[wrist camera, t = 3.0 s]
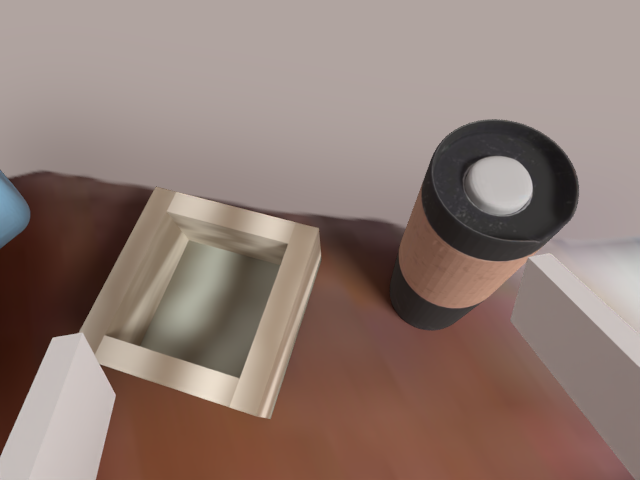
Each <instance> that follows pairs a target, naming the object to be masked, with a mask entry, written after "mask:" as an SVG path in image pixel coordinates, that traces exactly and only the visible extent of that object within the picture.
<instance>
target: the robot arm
mask: <svg viewBox="0 0 640 480" xmlns="http://www.w3.org/2000/svg"><path fill="white" fill-rule="evenodd" d="M29 220H30V209H29V206H28V204H27V202H26V201H25V199H24V198H23V197H22V195H21V194H20V193H19V191H18V190H17V189H16V188H15V187H14V185H13V184H12V183H11V182H10V180H9V179H8V178H7V177H6V176H5V175H4V173H3V172H2V171H1V170H0V249H1V248H2V247H3V246H4V245H6V244H7V243H8V242H9V241H11V240H12V239H13V238H14V237H16V236H17V235H18V234H19V233H21V232H22V231H23V230H24V229H25V228H26V227H27V225H28V223H29ZM510 321H511V322H512V324H513V325H514V326H515V327H516V329H517V330H518V331H519V332H520V334H521V335H522V336H523V338H524V339H525V340H526V341H527V343H528V344H529V345H530V346H531V348H532V349H533V350H534V351H535V353H536V354H537V355H538V357H539V358H540V359H541V360H542V362H543V363H544V364H545V365H546V367H547V368H548V369H549V371H550V372H551V373H552V374H553V376H554V377H555V378H556V379H557V381H558V382H559V383H560V385H561V386H562V387H563V388H564V390H565V391H566V392H567V393H568V395H569V396H570V397H571V399H572V400H573V401H574V402H575V404H576V405H577V406H578V407H579V409H580V410H581V411H582V413H583V414H584V415H585V416H586V418H587V419H588V420H589V421H590V423H591V424H592V425H593V426H594V428H595V429H596V430H597V432H598V433H599V434H600V435H601V437H602V438H603V439H604V440H605V442H606V443H607V444H608V446H609V447H610V448H611V449H612V451H613V452H614V453H615V454H616V456H617V457H618V458H619V460H620V461H621V462H622V463H623V465H624V466H625V467H626V468H627V470H628V471H629V472H630V474H631V475H632V476H633V477H634V479H635V480H640V334H639V333H638V332H637V331H635V330H634V329H633V328H632V327H631V326H630V325H629V324H628V323H627V322H626V321H625V320H623V319H622V318H621V317H620V316H619V315H618V314H617V313H616V312H615V311H614V310H612V309H611V308H610V307H609V306H608V305H607V304H606V303H605V302H604V301H603V300H601V299H600V298H599V297H598V296H597V295H596V294H595V293H594V292H593V291H592V290H590V289H589V288H588V287H587V286H586V285H585V284H584V283H583V282H582V281H581V280H579V279H578V278H577V277H576V276H575V275H574V274H573V273H572V272H571V271H570V270H568V269H567V268H566V267H565V266H564V265H563V264H562V263H561V262H560V261H559V260H557V259H556V258H555V257H554V256H553V255H552V254H551V253H548V254H542V255H537V256H531V257H528V259H527V262H526V266H525V269H524V273H523V277H522V280H521V284H520V287H519V291H518V294H517V298H516V302H515V305H514V309H513V312H512V316H511V320H510ZM115 397H116V395H115V393H114V391H113V389H112V387H111V385H110V383H109V381H108V379H107V378H106V376H105V374H104V372H103V370H102V368H101V366H100V364H99V362H98V361H97V359H96V357H95V355H94V353H93V351H92V349H91V347H90V345H89V344H88V342H87V340H86V338H85V336H84V334H83V333H77V334H71V335H65V336H59V337H53V338H52V340H51V343H50V345H49V347H48V349H47V352H46V354H45V356H44V359H43V361H42V363H41V365H40V368H39V370H38V372H37V374H36V377H35V379H34V381H33V384H32V386H31V388H30V390H29V393H28V395H27V397H26V400H25V402H24V404H23V406H22V409H21V411H20V413H19V415H18V418H17V420H16V422H15V425H14V427H13V429H12V431H11V434H10V436H9V438H8V441H7V443H6V445H5V447H4V450H3V452H2V454H1V456H0V480H96V476H97V472H98V468H99V463H100V459H101V455H102V451H103V447H104V443H105V438H106V434H107V430H108V426H109V422H110V417H111V413H112V409H113V405H114V401H115Z"/></svg>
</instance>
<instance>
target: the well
mask: <svg viewBox="0 0 640 480" xmlns="http://www.w3.org/2000/svg"><path fill="white" fill-rule="evenodd" d="M321 260H322V259H321V248H320V236H319V228H316V227H312V226H308V225H304V224H300V223H296V222H292V221H288V220H284V219H280V218H277V217H273V216H269V215H265V214H261V213H257V212H253V211H249V210H245V209H241V208H237V207H234V206H230V205H226V204H222V203H218V202H214V201H210V200H206V199H202V198H198V197H195V196H191V195H187V194H183V193H179V192H175V191H171V190H167V189H163V188H159V187H155V189H154V191H153V193H152V195H151V197H150V199H149V201H148V202H147V204H146V206H145V208H144V210H143V212H142V214H141V216H140V218H139V220H138V221H137V223H136V225H135V227H134V229H133V231H132V233H131V235H130V237H129V238H128V240H127V242H126V244H125V246H124V248H123V250H122V252H121V254H120V256H119V257H118V259H117V261H116V263H115V265H114V267H113V269H112V271H111V273H110V275H109V276H108V278H107V280H106V282H105V284H104V286H103V288H102V290H101V292H100V293H99V295H98V297H97V299H96V301H95V303H94V305H93V307H92V309H91V311H90V312H89V314H88V316H87V318H86V320H85V322H84V324H83V326H82V328H81V329H80V331H79V333H83V334H84V336H85V338H86V340H87V342H88V344H89V345H90V347H91V349H92V351H93V353H94V355H95V357H96V359H97V361H98V362H99V364H101V365H104V366H107V367H110V368H113V369H116V370H119V371H122V372H125V373H128V374H131V375H134V376H137V377H140V378H143V379H146V380H149V381H152V382H155V383H158V384H161V385H164V386H167V387H170V388H173V389H176V390H179V391H182V392H185V393H188V394H191V395H194V396H197V397H200V398H203V399H206V400H209V401H212V402H215V403H218V404H221V405H224V406H227V407H230V408H233V409H236V410H239V411H242V412H245V413H248V414H251V415H254V416H258V417H263V418H268V419H271V415H272V412H273V409H274V406H275V403H276V400H277V397H278V394H279V391H280V387H281V384H282V381H283V378H284V375H285V372H286V369H287V366H288V362H289V359H290V356H291V353H292V350H293V347H294V344H295V341H296V338H297V334H298V331H299V328H300V325H301V322H302V319H303V316H304V313H305V309H306V306H307V303H308V300H309V297H310V294H311V291H312V288H313V285H314V281H315V278H316V275H317V272H318V269H319V266H320V263H321Z"/></svg>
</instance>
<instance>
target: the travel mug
mask: <svg viewBox="0 0 640 480" xmlns="http://www.w3.org/2000/svg"><path fill="white" fill-rule="evenodd" d="M578 197H579V185H578V178H577V175H576V171H575V169H574V167H573V165H572V163H571V161H570V160H569V158H568V156H567V155H566V154H565V152H564V151H563V150H562V149H561V148H560V147H559V146H558V145H557V144H556V143H555V142H554V141H553V140H551V139H550V138H549V137H547V136H546V135H544V134H543V133H541V132H540V131H538V130H535V129H534V128H532V127H529V126H526V125H524V124H520V123H517V122H512V121H507V120H496V119H495V120H481V121H476V122H472V123H469V124H466V125H464V126H461V127H460V128H458V129H456V130H454V131H453V132H451V133H450V134H449V135H448V136H446V137H445V138H444V139H443V140H442V142H441V143H440V144H439V145H438V147H437V149H436V150H435V152H434V154H433V157H432V159H431V161H430V164H429V167H428V170H427V172H426V175H425V178H424V181H423V183H422V186H421V189H420V191H419V194H418V197H417V200H416V202H415V205H414V208H413V211H412V214H411V216H410V219H409V221H408V224H407V227H406V230H405V232H404V235H403V238H402V241H401V243H400V247H399V250H398V254H397V258H396V262H395V266H394V270H393V274H392V278H391V282H390V298H391V302H392V305H393V307H394V309H395V310H396V312H397V313H398V315H399V316H400V317H401V318H402V319H403V320H404V321H406V322H407V323H409V324H410V325H412V326H414V327H417V328H419V329H423V330H440V329H443V328H446V327H448V326H450V325H452V324H453V323H455V322H456V321H458V320H459V319H460V318H462V317H463V316H464V315H466V314H467V313H468V312H470V311H471V310H472V309H473V308H475V307H476V306H477V305H479V304H480V303H481V302H483V301H484V300H485V299H486V298H488V297H489V296H490V295H491V294H492V293H493V292H494V291H495V290H496V289H497V288H499V287H500V286H501V285H502V284H503V283H504V282H505V281H506V280H507V279H508V278H509V277H510V276H511V275H513V274H514V273H515V272H516V271H517V270H518V269H519V268H520V267H521V266H522V265H523V264H524V263H525V262H526V261H527V259H528V257H531V256H533V255H534V254H535V253H536V252H537V251H538V250H539V249H540V248H541V247H543V246H544V245H545V244H546V243H547V242H548V241H549V240H550V239H551V238H552V237H553V236H554V235H555V234H557V233H558V232H559V231H560V230H561V228H563V226H565V225H566V224H567V223H568V222H569V221H570V220H571V218H572V217H573V215H574V213H575V211H576V208H577V204H578Z"/></svg>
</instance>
